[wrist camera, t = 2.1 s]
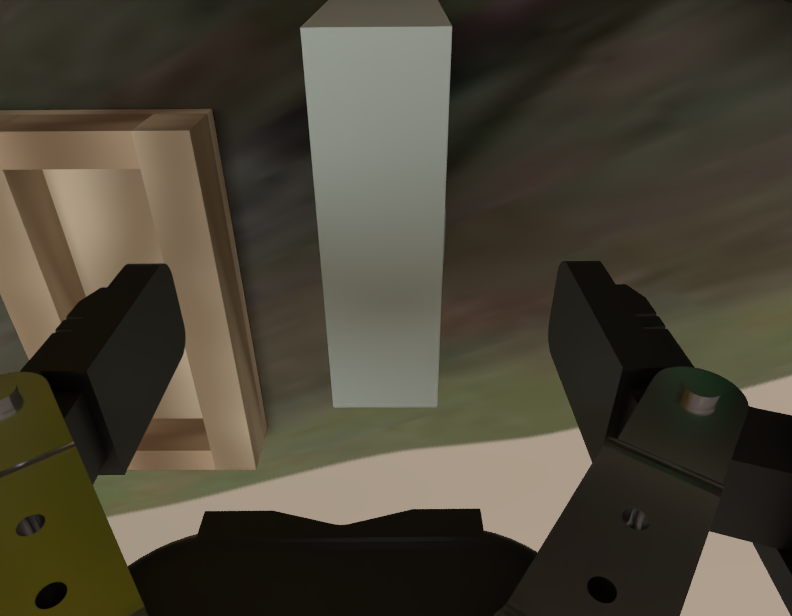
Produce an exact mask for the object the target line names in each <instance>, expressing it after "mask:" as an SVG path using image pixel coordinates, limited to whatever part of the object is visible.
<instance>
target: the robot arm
mask: <svg viewBox="0 0 792 616" xmlns="http://www.w3.org/2000/svg"><path fill="white" fill-rule="evenodd" d="M55 331H56V332H55V333H52V334H51V335H50V336H49V338H48V339H47V340H46V341H45V342H44V344H43V345H42V346H41V347H40V348H39V349H38V351H37V352H36V353H35V354H34V355H33V357H32V358H31V359H30V360H29V361H28V362H27V364H26V365H25V366H24V367H23V368H22V370H21V371H20V372H14V373H8V374H3V375H0V616H680V613H681V610H682V607H683V605H684V602H685V599H686V596H687V593H688V590H689V587H690V584H691V581H692V579H693V575H694V573H695V570H696V567H697V564H698V561H699V558H700V556H701V553H702V550H703V547H704V544H705V541H706V538H707V535H708V532H709V531H711V532H715V533H719V534H722V535H727V536H730V537H734V538H738V539H742V540H746V541H750V542H753V545H754V547H755V548H756V550H757V552H758V554H759V556H760V558H761V560H762V562H763V564H764V566H765V567H766V569H767V571H768V573H769V575H770V577H771V579H772V581H773V583H774V585H775V586H776V588H777V590H778V592H779V594H780V596H781V598H782V600H783V602H784V604H785V605H786V607H787V609H788V611H789V613H790V615H791V616H792V416H791V415H786V414H781V413H777V412H771V411H767V410H762V409H757V408H753V407H750V406H748V401H747V399H746V397H745V396H744V394H743V393H742V392H741V391H740V390H739V388H738V387H736V386H735V385H734V384H733V383H731V382H730V381H728V380H727V379H725V378H723V377H721V376H719V375H717V374H715V373H712V372H710V371H706V370H703V369H699V368H695V367H694V366H693V365H692V363H691V362H690V360H689V359H688V357H687V356H686V355H685V353H684V352H683V350H682V349H681V348H680V346H679V345H678V343H677V342H676V340H675V339H674V338H673V336H672V335H671V333H670V332H669V330H668V329H665V325H664V323H663V322H662V320H661V319H660V318H659V316H656V312H655V311H654V309H653V308H652V306H651V305H650V303H649V302H648V301H647V299H646V298H645V297H644V296H642V295H641V294H639V293H638V292H636V291H635V290H633V289H632V288H630V287H629V286H627V285H626V284H621V285H616V284H615V283H614V281H613V280H612V278H611V276H610V275H609V273H608V272H607V270H606V269H605V267H604V266H603V264H602V263H601V262H600V261H563V262H562V263H561V264H560V266H559V269H558V273H557V279H556V285H555V291H554V297H553V303H552V309H551V315H550V321H549V330H548V339H549V348H550V353H551V356H552V359H553V361H554V364H555V366H556V369H557V372H558V374H559V377H560V379H561V382H562V385H563V387H564V390H565V393H566V395H567V398H568V400H569V403H570V406H571V408H572V411H573V413H574V416H575V419H576V421H577V424H578V426H579V429H580V432H581V434H582V437H583V439H584V442H585V445H586V447H587V450H588V452H589V455H590V458H591V460H592V465H591V466H590V468H589V470H588V471H587V473H586V474H585V476H584V478H583V479H582V481H581V483H580V484H579V486H578V488H577V489H576V491H575V492H574V494H573V496H572V497H571V499H570V501H569V503H568V504H567V506H566V507H565V509H564V511H563V512H562V514H561V516H560V517H559V519H558V521H557V522H556V524H555V525H554V527H553V529H552V530H551V532H550V533H549V535H548V537H547V538H546V540H545V542H544V543H543V545H542V547H541V548H540V550H539V551H538V553H537V552H536V551H534V550H532V549H531V548H529V547H527V546H525V545H523V544H521V543H519V542H517V541H515V540H512V539H510V538H507V537H504V536H501V535H499V534H496V533H492V532H487V531H483V524H482V518H481V512H480V509H412V510H408V511H404V512H400V513H395V514H391V515H387V516H382V517H378V518H374V519H370V520H366V521H361V522H357V523H352V524H348V525H335V524H330V523H325V522H320V521H316V520H312V519H307V518H303V517H298V516H294V515H289V514H285V513H280V512H276V511H206V512H205V513H204V516H203V519H202V523H201V525H200V529H199V532H198V534H196V535H193V536H189V537H186V538H183V539H180V540H177V541H174V542H171V543H169V544H167V545H165V546H162V547H160V548H158V549H156V550H154V551H152V552H150V553H149V554H147V555H145V556H143V557H142V558H140V559H138V560H137V561H135V562H134V563H132V564H131V565H129V566H128V567H127V564H126V562H125V560H124V558H123V555H122V553H121V550H120V548H119V546H118V543H117V541H116V539H115V536H114V534H113V532H112V529H111V527H110V525H109V523H108V520H107V518H106V515H105V513H104V511H103V508H102V506H101V504H100V501H99V499H98V497H97V494H96V492H95V490H94V487H93V484H94V482H95V480H96V478H97V476H98V475H125V473H126V471H127V469H128V467H129V465H130V463H131V461H132V459H133V457H134V455H135V453H136V451H137V448H138V446H139V444H140V442H141V440H142V438H143V436H144V434H145V432H146V430H147V428H148V426H149V424H150V422H151V420H152V418H153V416H154V414H155V412H156V410H157V408H158V406H159V404H160V402H161V399H162V397H163V395H164V393H165V391H166V389H167V387H168V385H169V383H170V381H171V379H172V377H173V375H174V373H175V371H176V369H177V367H178V365H179V363H180V361H181V359H182V356H183V354H184V350H185V342H186V334H185V326H184V322H183V318H182V313H181V309H180V305H179V301H178V297H177V292H176V288H175V284H174V280H173V276H172V272H171V270H170V268H169V266H168V265H167V264H165V263H142V264H126V265H125V266H124V267H123V268H122V269H121V271H120V272H119V273H118V274H117V276H116V277H115V278H114V279H113V281H112V282H111V283H110V284H109V286H108V287H101V288H99V289H98V290H96V291H95V292H93V293H91V294H90V295H88V296H87V297H85V298H83V299H82V300H80V301H79V302H78V303H77V304H76V306H75V307H74V308H73V309H72V310H71V312H70V313H69V314H68V315H67V316H66V320H63V321H62V322H61V323H60V325H59V326H58V327H57V328H56V329H55Z"/></svg>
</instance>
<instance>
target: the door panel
mask: <svg viewBox="0 0 792 616" xmlns="http://www.w3.org/2000/svg"><path fill="white" fill-rule="evenodd" d="M300 31H301V43H302V54H303V65H304V77H305V88H306V100H307V111H308V123H309V134H310V146H311V157H312V169H313V180H314V191H315V203H316V214H317V226H318V237H319V249H320V260H321V272H322V283H323V294H324V306H325V317H326V329H327V340H328V352H329V363H330V375H331V386H332V398H333V407H437V396H438V370H439V345H440V320H441V295H442V269H443V266H444V254H445V230H446V204H445V194H446V168H447V143H448V118H449V92H450V67H451V42H452V25H451V23H450V22H449V20H448V18H447V16H446V14H445V12H444V11H443V9H442V7H441V5H440V3H439V1H438V0H328V1H327V2H326V3H325V4H324V5H323V6H322V7H321V8H320V9H319V10H318V11H317V12H316V13H315V14H314V15H313V16H312V17H311V18H310V19H309V20H308V21H307V22H305V23H304V24H303V25H302V26H301V27H300Z"/></svg>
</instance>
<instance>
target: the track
mask: <svg viewBox="0 0 792 616" xmlns="http://www.w3.org/2000/svg"><path fill="white" fill-rule="evenodd" d="M142 263H165V264H167V265H168V266H169V268H170V270H171V272H172V276H173V280H174V284H175V288H176V292H177V297H178V301H179V305H180V309H181V313H182V318H183V322H184V326H185V334H186V342H185V350H184V354H183V356H182V359H181V361H180V363H179V365H178V367H177V369H176V371H175V373H174V375H173V377H172V379H171V381H170V383H169V385H168V387H167V389H166V391H165V393H164V395H163V397H162V399H161V402H160V404H159V406H158V408H157V410H156V412H155V414H154V416H153V418H152V420H151V422H150V424H149V426H148V428H147V430H146V432H145V434H144V436H143V438H142V440H141V442H140V444H139V446H138V448H137V451H136V453H135V455H134V457H133V459H132V461H131V463H130V465H129V467H128V469H127V470H256V468H257V465H258V461H259V457H260V453H261V450H262V446H263V442H264V438H265V435H266V431H267V424H266V418H265V412H264V406H263V401H262V395H261V389H260V383H259V377H258V372H257V366H256V360H255V354H254V349H253V343H252V337H251V331H250V325H249V320H248V314H247V308H246V302H245V296H244V291H243V285H242V279H241V273H240V268H239V262H238V256H237V250H236V244H235V239H234V233H233V227H232V221H231V215H230V210H229V204H228V198H227V192H226V187H225V181H224V175H223V169H222V163H221V158H220V152H219V146H218V140H217V134H216V129H215V123H214V117H213V111H212V109H123V110H0V294H1V297H2V299H3V301H4V304H5V306H6V308H7V310H8V313H9V315H10V317H11V320H12V322H13V324H14V327H15V329H16V331H17V333H18V336H19V338H20V340H21V343H22V345H23V347H24V350H25V352H26V354H27V356H28V359H29V360H30V359H31V358H32V357H33V355H34V354H35V353H36V352H37V351H38V349H39V348H40V347H41V346H42V345H43V344H44V342H45V341H46V340H47V339H48V338H49V336H50V335H51V334H52V333H55V332H56V331H55V329H56V328H57V327H58V326H59V325H60V323H61V322H62V321H63V320H66V316H67V315H68V314H69V313H70V312H71V310H72V309H73V308H74V307H75V306H76V304H77V303H78V302H79V301H80V300H82V299H83V298H85V297H87V296H88V295H90V294H91V293H93V292H95V291H96V290H98V289H99V288H101V287H108V286H109V284H110V283H111V282H112V281H113V279H114V278H115V277H116V276H117V274H118V273H119V272H120V271H121V269H122V268H123V267H124V266H125V265H126V264H142Z"/></svg>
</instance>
